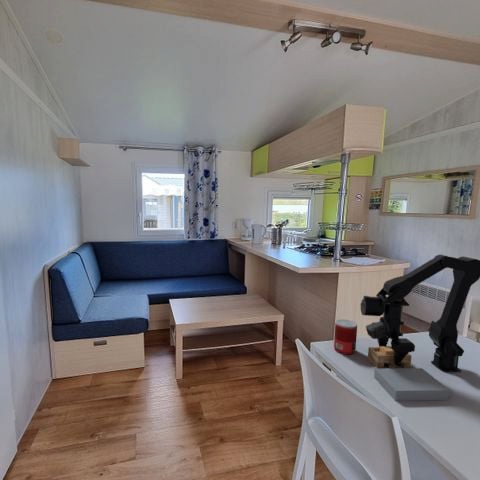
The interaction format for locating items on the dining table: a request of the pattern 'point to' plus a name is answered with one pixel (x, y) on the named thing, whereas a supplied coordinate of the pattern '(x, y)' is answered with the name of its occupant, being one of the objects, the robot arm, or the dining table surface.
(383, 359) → the shallow cardboard tray
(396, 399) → the dock
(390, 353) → the block
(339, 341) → the canned food
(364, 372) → the dining table surface
